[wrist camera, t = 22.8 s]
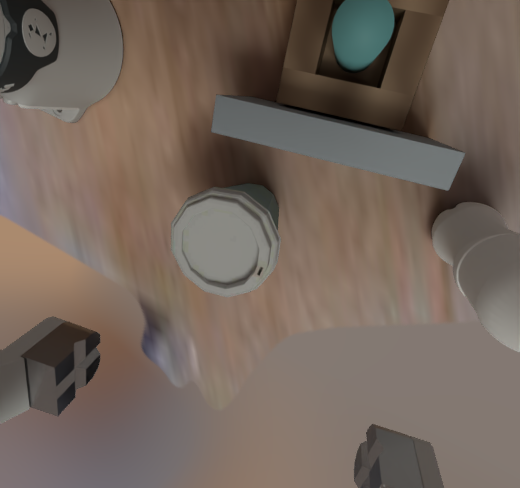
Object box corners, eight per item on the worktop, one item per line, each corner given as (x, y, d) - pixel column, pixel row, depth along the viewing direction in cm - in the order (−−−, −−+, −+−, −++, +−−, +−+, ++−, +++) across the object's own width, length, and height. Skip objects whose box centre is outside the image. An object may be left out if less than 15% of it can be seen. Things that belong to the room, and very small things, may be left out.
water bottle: (479, 184, 37) (691, 311, 15) (506, 237, 39) (736, 426, 16) (415, 216, 40) (511, 364, 18) (442, 265, 42) (563, 459, 19)
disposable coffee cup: (205, 224, 46) (149, 275, 33) (230, 149, 42) (177, 172, 28) (276, 257, 46) (249, 322, 32) (310, 184, 41) (295, 225, 28)
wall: (246, 123, 40) (211, 132, 29) (250, 96, 39) (216, 94, 28) (417, 165, 38) (448, 190, 27) (428, 137, 37) (465, 153, 26)
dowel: (329, 68, 35) (324, 54, 24) (341, 23, 33) (342, -15, 22) (368, 77, 34) (381, 66, 23) (383, 31, 33) (403, -4, 22)
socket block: (285, 101, 38) (275, 101, 33) (313, -30, 33) (308, -55, 28) (392, 126, 37) (401, 130, 31) (439, -7, 32) (459, -29, 26)
